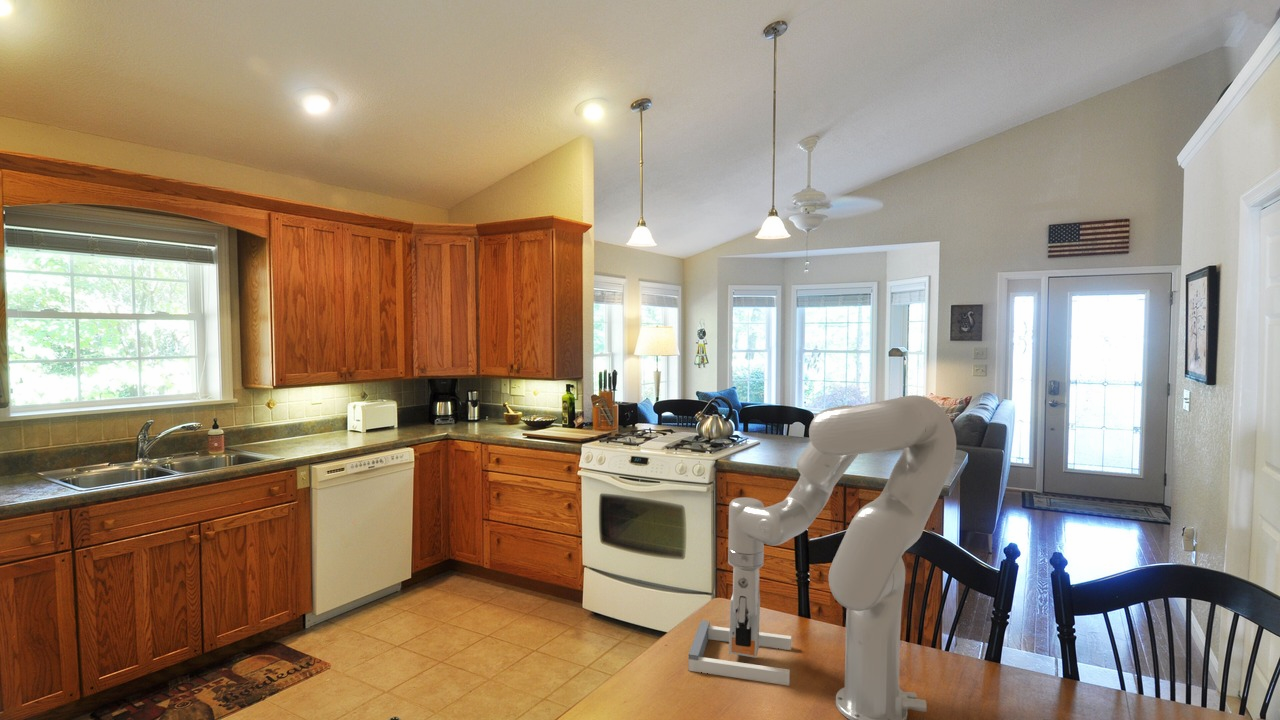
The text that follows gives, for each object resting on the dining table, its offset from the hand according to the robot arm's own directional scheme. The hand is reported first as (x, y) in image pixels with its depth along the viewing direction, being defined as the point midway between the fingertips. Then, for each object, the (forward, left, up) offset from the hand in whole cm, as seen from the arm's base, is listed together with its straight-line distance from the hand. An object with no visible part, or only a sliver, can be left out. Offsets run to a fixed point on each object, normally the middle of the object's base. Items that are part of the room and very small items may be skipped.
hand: (744, 638), depth 134 cm
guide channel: (0, 0, -4) cm, 4 cm away
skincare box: (0, 0, -3) cm, 3 cm away
